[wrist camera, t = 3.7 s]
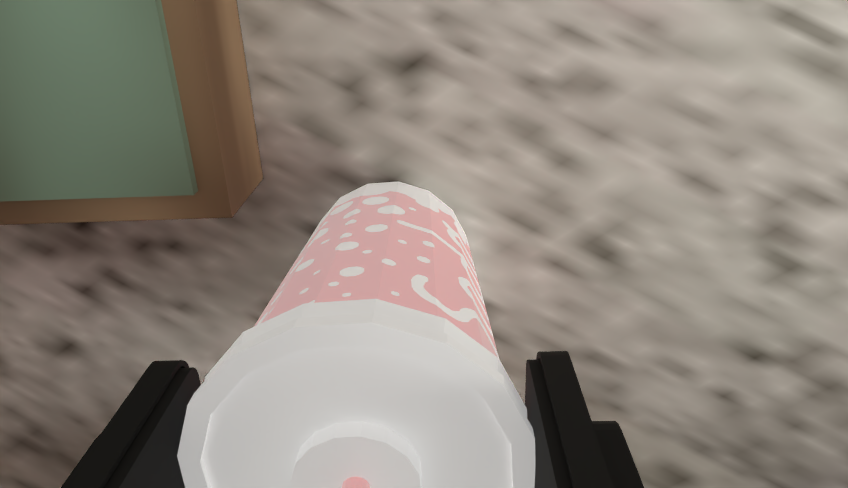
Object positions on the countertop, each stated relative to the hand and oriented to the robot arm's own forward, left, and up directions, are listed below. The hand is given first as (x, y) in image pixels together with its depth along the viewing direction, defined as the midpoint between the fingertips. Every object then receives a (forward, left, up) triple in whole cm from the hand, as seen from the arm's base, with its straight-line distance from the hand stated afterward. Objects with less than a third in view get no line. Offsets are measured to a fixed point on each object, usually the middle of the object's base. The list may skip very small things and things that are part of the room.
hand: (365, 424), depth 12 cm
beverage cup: (0, 0, -8) cm, 8 cm away
